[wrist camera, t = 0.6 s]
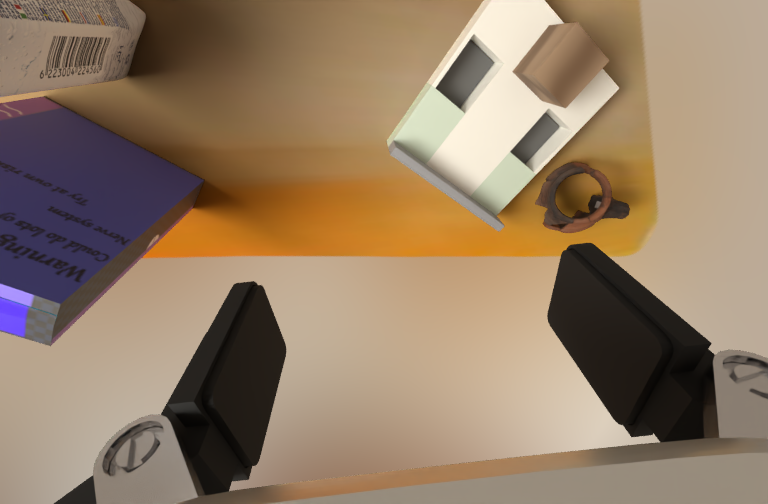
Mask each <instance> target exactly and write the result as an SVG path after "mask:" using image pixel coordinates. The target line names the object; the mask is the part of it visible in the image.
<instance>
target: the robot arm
mask: <svg viewBox="0 0 768 504" xmlns="http://www.w3.org/2000/svg"><path fill="white" fill-rule="evenodd" d="M548 322H549V324H550V326H551V327H552V329H553V331H554V332H555V333H556V335H557V336H558V338H559V339H560V341H561V342H562V344H563V345H564V347H565V348H566V350H567V351H568V353H569V354H570V356H571V357H572V358H573V360H574V361H575V363H576V364H577V366H578V367H579V369H580V370H581V372H582V373H583V375H584V376H585V378H586V379H587V381H588V382H589V383H590V385H591V386H592V388H593V389H594V391H595V392H596V394H597V395H598V397H599V398H600V400H601V401H602V403H603V404H604V406H605V407H606V408H607V410H608V411H609V413H610V414H611V416H612V417H613V419H614V420H615V421H616V422H617V423H618V424H620V425H623V426H624V427H625V429H626V430H627V431H628V433H629V434H630V436H631V437H638V436H647V435H653V433H654V434H655V436H656V437H657V438H658V439H659V441H660V443H649V444H637V445H628V446H618V447H608V448H599V449H589V450H580V451H570V452H561V453H551V454H542V455H533V456H523V457H514V458H505V459H496V460H486V461H477V462H468V463H459V464H450V465H441V466H432V467H423V468H414V469H406V470H396V471H388V472H380V473H371V474H363V475H355V476H354V475H353V476H345V477H336V478H328V479H320V480H311V481H302V482H294V483H286V484H279V485H271V486H265V487H257V488H249V489H242V490H235V491H229V489H230V486H231V482H232V481H240V480H248V479H249V476H250V473H251V469H252V466H255V465H257V463H258V461H259V459H260V455H261V451H262V447H263V443H264V439H265V435H266V432H267V427H268V424H269V420H270V415H271V412H272V408H273V404H274V400H275V396H276V392H277V388H278V384H279V380H280V376H281V372H282V368H283V364H284V360H285V357H286V345H285V342H284V339H283V337H282V334H281V332H280V329H279V326H278V324H277V321H276V319H275V316H274V313H273V311H272V308H271V306H270V303H269V300H268V298H267V295H266V293H265V290H264V288H263V286H261V285H257V283H255V282H254V281H253V282H244V283H236V284H234V285H233V287H232V289H231V290H230V292H229V294H228V296H227V298H226V299H225V301H224V303H223V305H222V307H221V308H220V310H219V312H218V314H217V316H216V317H215V320H214V321H213V323H212V325H211V326H210V328H209V330H208V332H207V333H206V334H205V336H204V338H203V340H202V341H201V343H200V345H199V347H198V349H197V350H196V352H195V354H194V356H193V358H192V359H191V361H190V363H189V365H188V367H187V368H186V370H185V372H184V374H183V376H182V377H181V379H180V381H179V383H178V385H177V386H176V388H175V390H174V392H173V394H172V395H171V397H170V399H169V401H168V403H167V404H166V406H165V408H164V410H163V412H162V413H161V415H160V414H158V415H148V416H145V417H141V418H139V419H137V420H135V421H133V422H131V423H129V424H128V425H127V426H125V427H124V428H122V429H121V430H119V431H118V432H117V433H116V434H115V435H114V436H113V437H112V438H111V439H110V440H109V441H108V442H107V443H106V445H105V446H104V447H103V449H102V450H101V451H100V453H99V455H98V457H97V459H96V461H95V464H94V470H93V476H91V477H90V478H89V479H87V480H86V481H84V482H83V483H82V484H80V485H79V486H78V487H76V488H75V489H73V490H72V491H71V492H69V493H68V494H66V495H65V496H64V497H62V498H61V499H60V500H58V501H57V502H56V503H54V504H768V358H765V357H762V356H760V355H757V354H754V353H750V352H745V351H740V350H726V351H720V352H719V353H717V354H716V355H714V354H713V353H712V352H711V351H710V350H709V349H708V348H709V346H710V345H711V342H709V341H708V340H707V339H706V338H705V337H703V336H702V335H701V334H700V333H698V332H697V331H696V330H695V329H694V328H693V327H691V326H690V325H689V324H688V323H687V322H685V321H684V320H683V319H682V318H681V317H680V316H678V315H677V314H676V313H675V312H674V311H672V310H671V309H670V308H669V307H668V306H666V305H665V304H664V303H663V302H662V301H660V300H659V299H658V298H657V297H656V296H655V295H653V294H652V293H651V292H650V291H649V290H647V289H646V288H645V287H644V286H643V285H641V284H640V283H639V282H638V281H637V280H635V279H634V278H633V277H632V276H631V275H629V274H628V273H627V272H626V271H625V270H624V269H622V268H621V267H620V266H619V265H618V264H616V263H615V262H614V261H613V260H612V259H611V258H609V257H608V256H607V255H606V254H605V253H603V252H602V251H601V250H600V249H599V248H597V247H596V246H595V245H594V244H592V243H583V244H574V245H570V246H569V247H568V248H567V250H565V251H563V252H562V255H561V259H560V263H559V268H558V272H557V276H556V281H555V285H554V289H553V293H552V298H551V302H550V306H549V310H548Z"/></svg>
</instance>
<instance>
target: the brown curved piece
mask: <svg viewBox="0 0 768 504" xmlns="http://www.w3.org/2000/svg"><path fill="white" fill-rule="evenodd" d="M580 173H587V174H590V175H591V176H592V177H593V178H595V179H596V180H597V181H598V182H599V184H600V185H601V188H602V192H603V196H600V195H597V196H596V195H593V196H592V197H591V200H590V202H589V203H588V207H589V210H590V213H586V212H582V211H579V210H578V211H577V212H576V214H575V215H574V216H573V217H572V218H570V217H567V216H565V215H564V214H562V213H561V212H560V210H559V209H558V208H557V206H556V204H555V193H556V190H557V188H558V186H559V185H560V183H561V182H562V181H563V180H564V179H566V178H567V177H569V176H571V175H574V174H580ZM546 181H547V182H545V183H543V186H542V189H541V193H540V196H539V198H538V199H537V201H536V203H535V204H536V205H540V206H543V207H546V208H548V210H547V211H546V212H545V219H544V222H543V225H544V226H545V227H547V228H549V229H552V230H558V231H561V232H563V233H574V232H579V231H582V230H585V229H587V228H589V227H591V226H593V225H594V224H595V223H596V222H598V221H599V220H600V219H604V218H618V219H623V218H626V217H627V216H628V215H629V210H630V208H629V205H628V204H626V203H623V202H621V201H617V200H614V199H613V198H612V191H611V186H610V183H609V181H608V179H607V178H606V177H605V175H604V174H602V173H601V172H599V171H598V170H594V169H592V168H590V167H589V166H588V165H586V164H583V163H567V164H565V165H563V166H561V167H559V168H558V169H556V170H555V171H554V172H552V173H551V174H550V175H549V176H548V177H547V178H546Z"/></svg>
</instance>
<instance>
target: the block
mask: <svg viewBox="0 0 768 504" xmlns="http://www.w3.org/2000/svg"><path fill="white" fill-rule="evenodd" d="M608 62H609V59H608V58H607V57H606V56H605V55H604V53H603V52H602V51H601V50H600V49H599V47H598V46H597V45H596V44H595V43H594V41H593V40H592V39H591V38H590V37H589V35H588V34H587V33H586V32H585V31H584V29H583V28H582V27H581V26H580V24H579V23H578V22H574V23H565V24H556V25H549V26H548V27H547V29H546V30H545V31H544V32H543V34H542V35H541V36H540V37H539V39H538V40H537V41H536V42H535V44H534V45H533V46H532V47H531V49H530V50H529V51H528V52H527V54H526V55H525V56H524V57H523V59H522V60H521V61H520V63H519V64H518V65H517V66H516V68H515V69H514V70H513V71H512V72H513V73H514V74H515V75H516V76H517V77H518V78H519V79H520V80H521V81H522V82H523V83H524V84H525V85H526V86H527V87H528V88H529V89H530V90H531V91H532V92H533V93H534V94H535V95H536V96H537V97H538V98H539V99H540V100H541V101H543V102H547V103H550V104H553V105H556V106H560V107H563V108H567V107H568V105H569V104H570V103H571V102H572V101H573V100H574V99H575V98H576V97H577V96H578V95H579V93H580V92H581V91H582V90H583V89H584V88H585V87H586V86H587V85H588V84H589V83H590V82H591V80H592V79H593V78H594V77H595V76H596V75H597V74H598V73H599V72H600V71H601V70H602V68H603V67H604V66H605V65H606V64H607V63H608Z"/></svg>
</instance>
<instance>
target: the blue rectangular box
mask: <svg viewBox="0 0 768 504" xmlns="http://www.w3.org/2000/svg"><path fill="white" fill-rule="evenodd" d="M203 182H204V180H203V179H201V178H199V177H198V176H196V175H194V174H192V173H190V172H188V171H186V170H184V169H182V168H180V167H178V166H177V165H175V164H173V163H171V162H169V161H167V160H165V159H163V158H161V157H159V156H157V155H155V154H154V153H152V152H150V151H148V150H146V149H144V148H142V147H140V146H138V145H136V144H134V143H133V142H131V141H129V140H127V139H125V138H123V137H121V136H119V135H117V134H115V133H113V132H112V131H110V130H108V129H106V128H104V127H102V126H100V125H98V124H96V123H94V122H92V121H90V120H89V119H87V118H85V117H83V116H81V115H79V114H77V113H75V112H73V111H71V110H69V109H68V108H66V107H64V106H62V105H60V104H58V103H56V102H54V101H52V100H50V99H48V98H47V97H45V96H44V97H38V98H31V99H25V100H19V101H13V102H6V103H0V331H2V332H5V333H8V334H12V335H15V336H18V337H22V338H25V339H29V340H32V341H36V342H39V343H42V344H46V345H49V346H51V345H52V344H53V343H54V342H55V341H56V340H57V339H58V338H59V337H60V336H61V335H62V334H63V333H64V332H65V331H66V330H67V329H69V328H70V326H71V325H72V324H74V323H75V322H76V321H77V320H78V319H79V318H80V317H81V316H82V315H83V314H84V313H85V312H86V311H87V310H88V309H89V308H90V307H91V306H92V305H93V304H94V303H95V302H96V301H97V300H98V299H100V298H101V297H102V296H103V295H104V294H105V293H106V292H107V291H108V290H109V289H110V288H111V287H112V286H113V285H114V284H115V283H116V282H117V281H118V280H119V279H120V278H121V277H122V276H123V275H124V274H125V273H126V272H127V271H128V270H129V269H130V268H131V267H132V266H134V265H135V264H136V263H137V262H138V261H139V260H140V259H141V258H142V257H143V256H144V255H145V254H146V253H147V252H148V251H149V250H150V249H151V248H152V247H153V246H154V245H155V244H156V243H157V242H158V241H159V240H160V239H161V238H162V237H164V236H165V235H166V234H167V233H168V232H169V231H170V230H171V229H172V228H173V227H174V226H175V225H176V224H177V223H178V222H179V221H180V220H181V219H182V218H183V217H184V216H185V215H186V214H187V213H188V212H189V211H190V210H191V209H192V208H193V206H194V204H195V201H196V199H197V197H198V194H199V192H200V190H201V187H202V185H203Z"/></svg>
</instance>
